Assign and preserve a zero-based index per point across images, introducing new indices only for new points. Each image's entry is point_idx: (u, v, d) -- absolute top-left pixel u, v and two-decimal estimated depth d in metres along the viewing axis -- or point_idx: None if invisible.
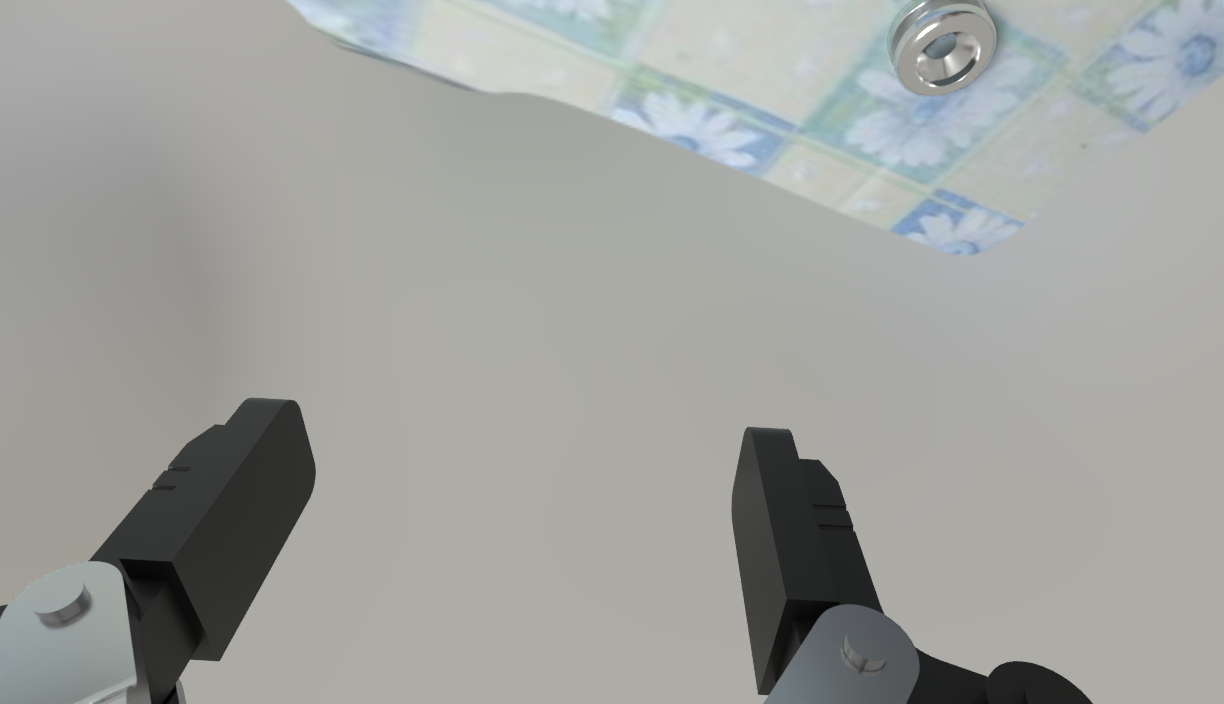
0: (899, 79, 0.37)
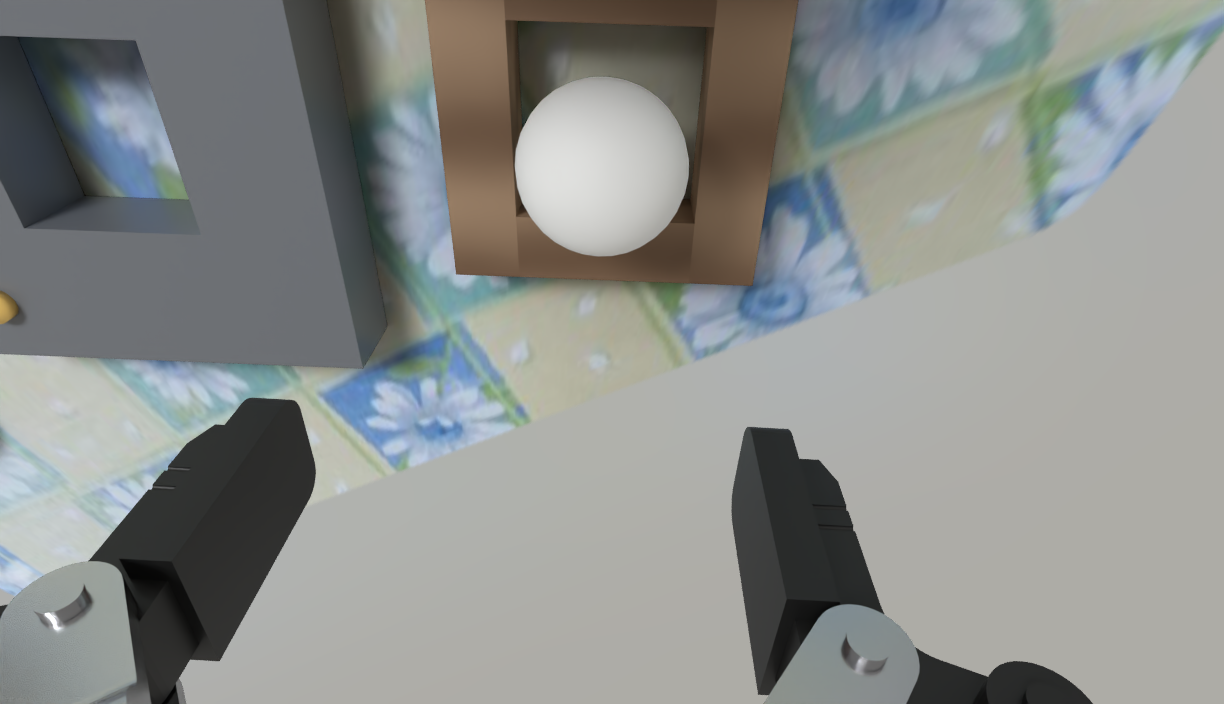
0: None
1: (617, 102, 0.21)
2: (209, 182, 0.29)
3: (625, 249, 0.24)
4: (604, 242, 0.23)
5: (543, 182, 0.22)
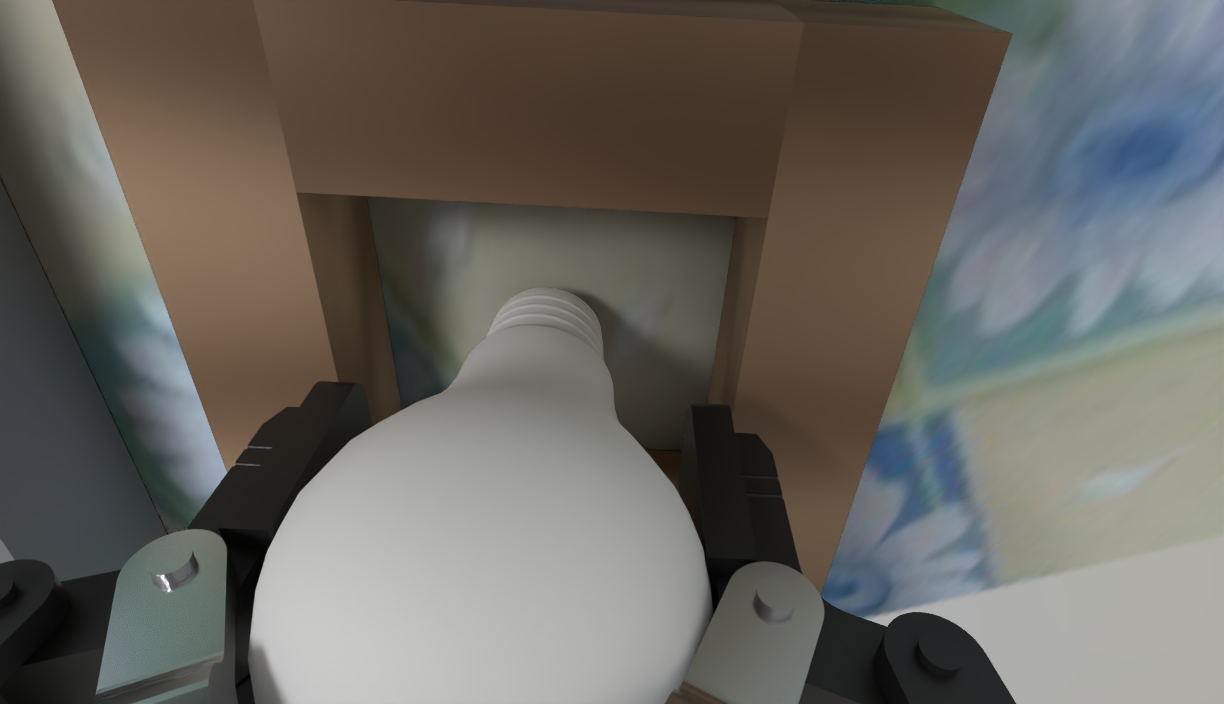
0: None
1: (506, 566, 0.07)
2: None
3: None
4: None
5: None
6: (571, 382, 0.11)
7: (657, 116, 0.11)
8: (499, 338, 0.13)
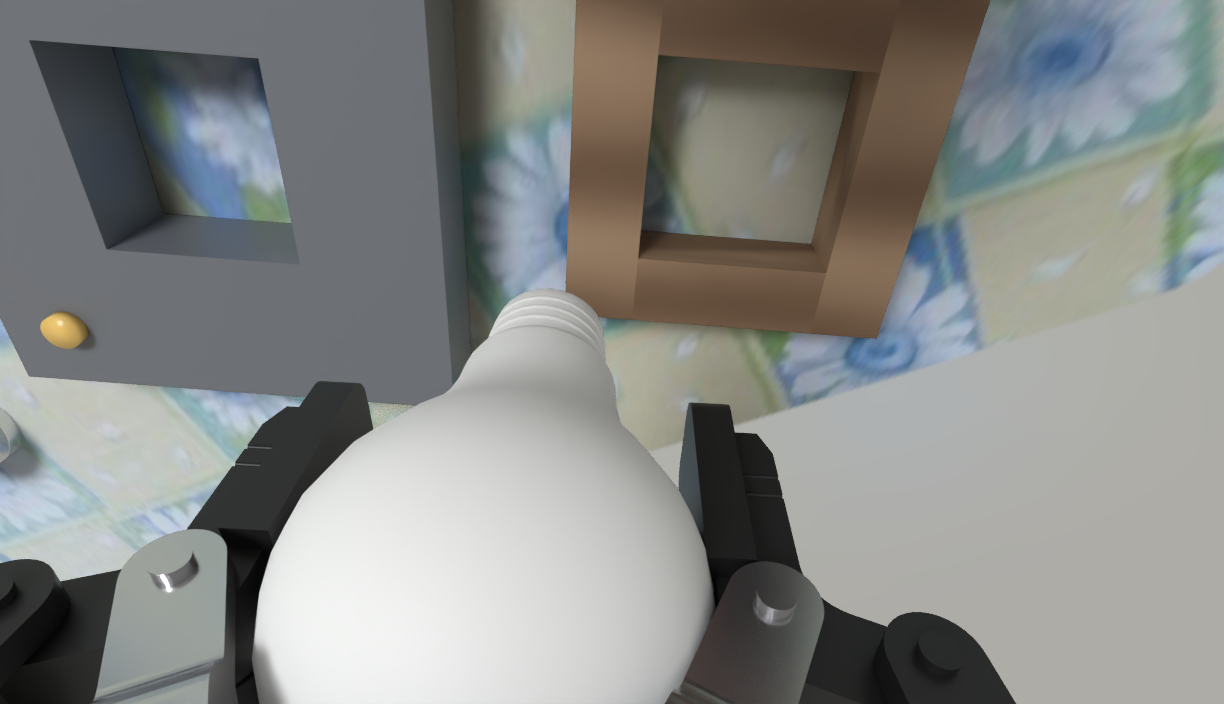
0: None
1: (509, 569, 0.07)
2: (317, 210, 0.27)
3: None
4: None
5: None
6: (573, 383, 0.11)
7: (836, 20, 0.23)
8: (501, 339, 0.13)
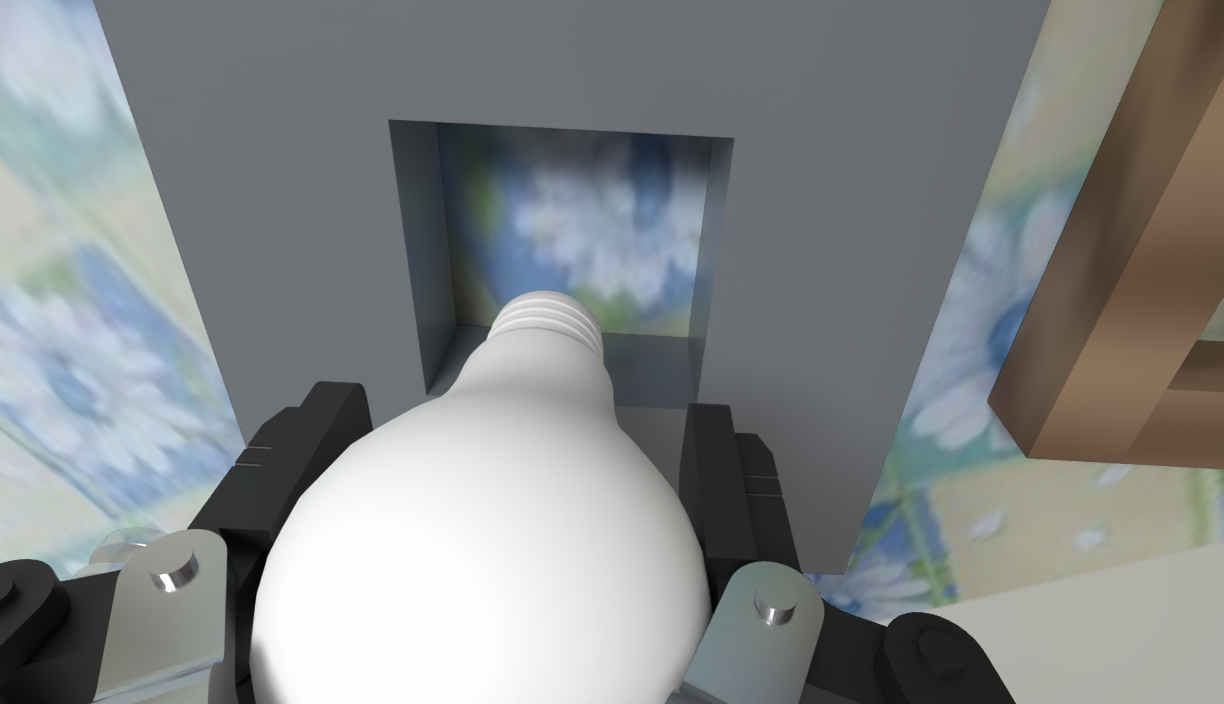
0: None
1: (506, 571, 0.07)
2: (746, 342, 0.19)
3: None
4: None
5: None
6: (571, 386, 0.11)
7: None
8: (499, 341, 0.13)
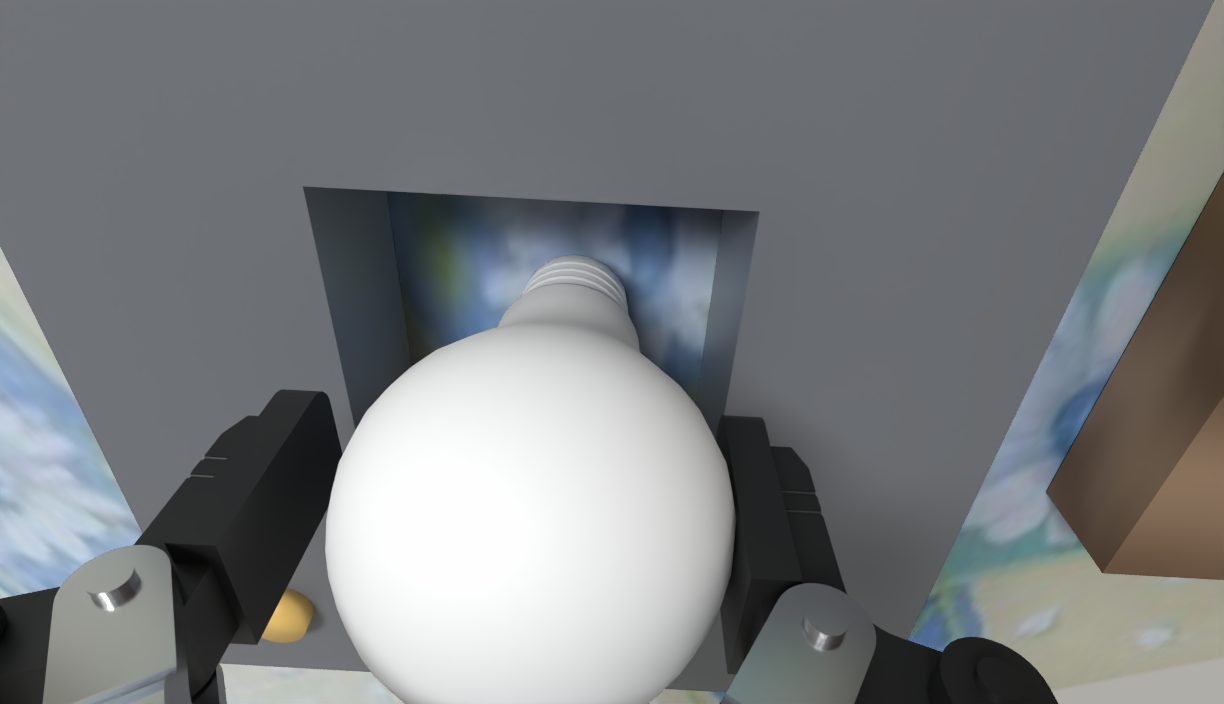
0: None
1: (557, 451, 0.08)
2: None
3: None
4: None
5: (367, 640, 0.08)
6: (603, 327, 0.12)
7: None
8: (533, 295, 0.14)
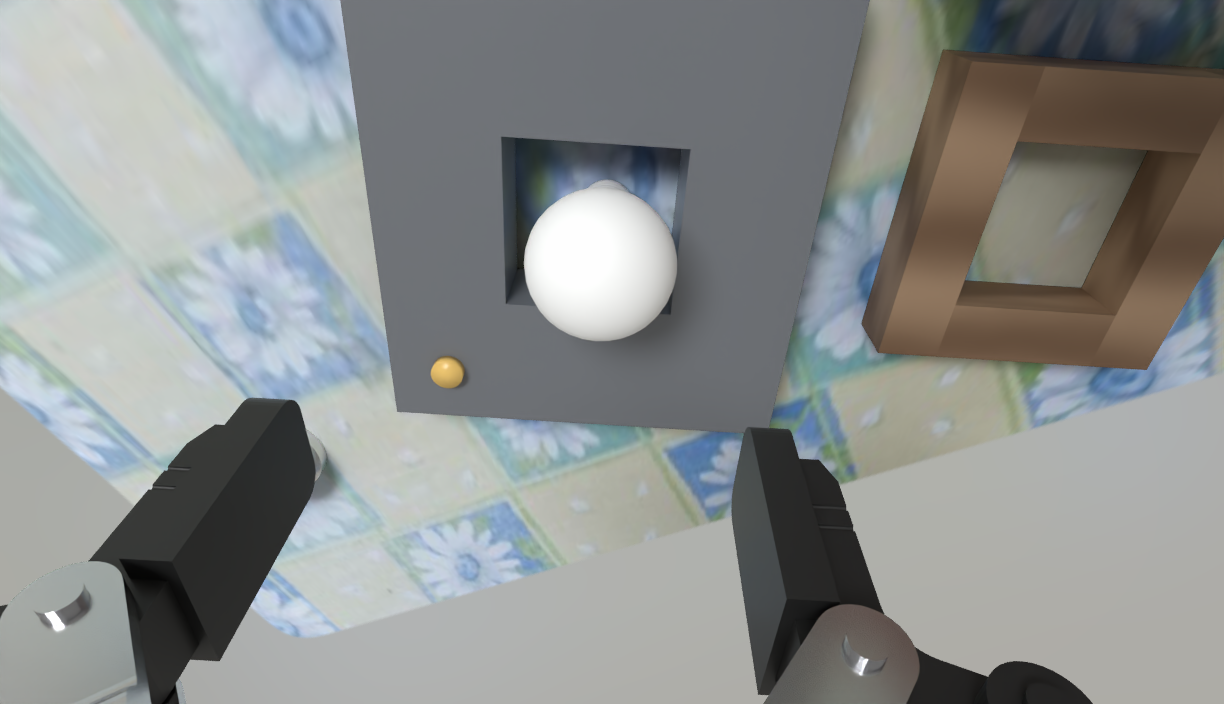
0: None
1: (615, 215, 0.25)
2: (700, 270, 0.31)
3: (620, 337, 0.27)
4: (602, 332, 0.26)
5: (549, 282, 0.25)
6: None
7: (1173, 113, 0.28)
8: None
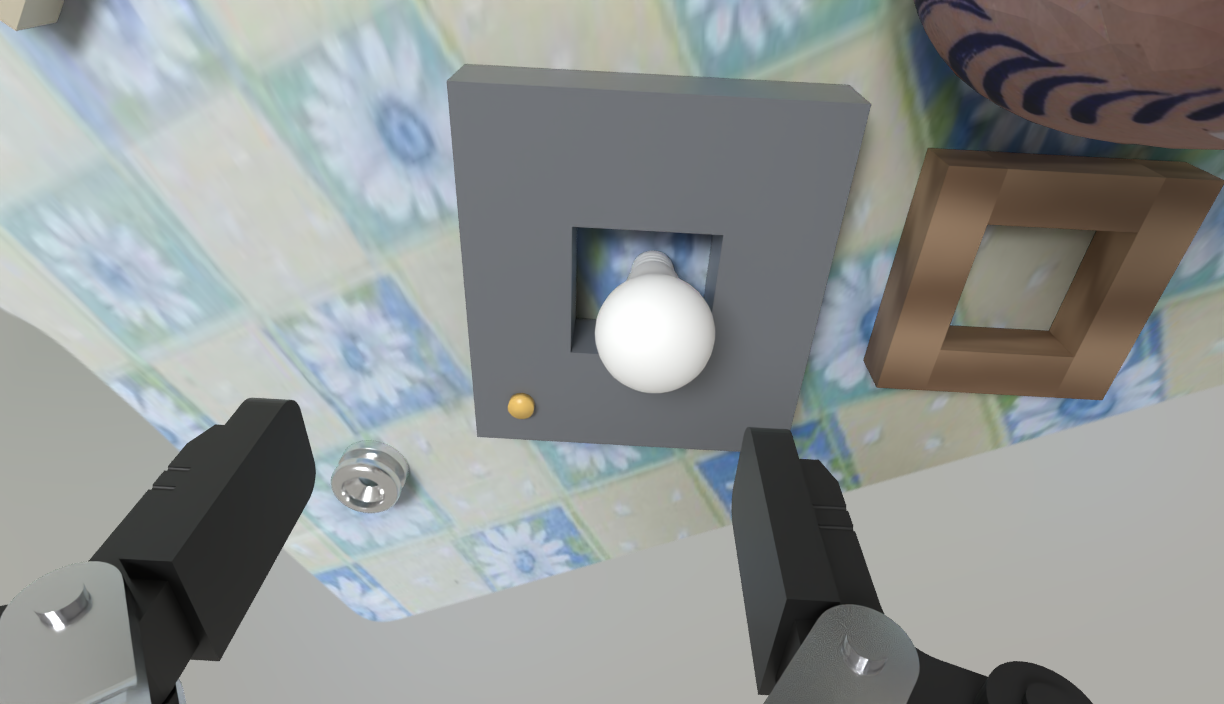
0: (331, 486, 0.49)
1: (669, 302, 0.32)
2: (729, 325, 0.39)
3: (671, 390, 0.34)
4: (658, 389, 0.33)
5: (618, 353, 0.32)
6: None
7: (1114, 202, 0.35)
8: (642, 266, 0.38)
